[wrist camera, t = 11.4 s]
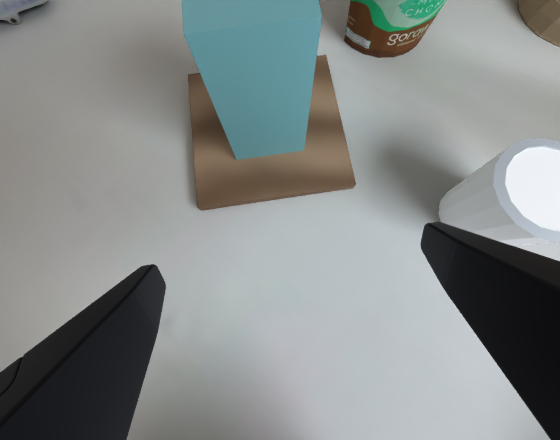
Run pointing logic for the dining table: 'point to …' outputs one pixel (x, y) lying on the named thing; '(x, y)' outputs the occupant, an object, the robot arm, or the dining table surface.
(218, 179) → the stub base
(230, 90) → the teal square pillar
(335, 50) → the dining table surface
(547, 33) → the oil lamp
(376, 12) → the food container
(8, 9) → the grey storage box
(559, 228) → the white short cylinder
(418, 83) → the dining table surface
